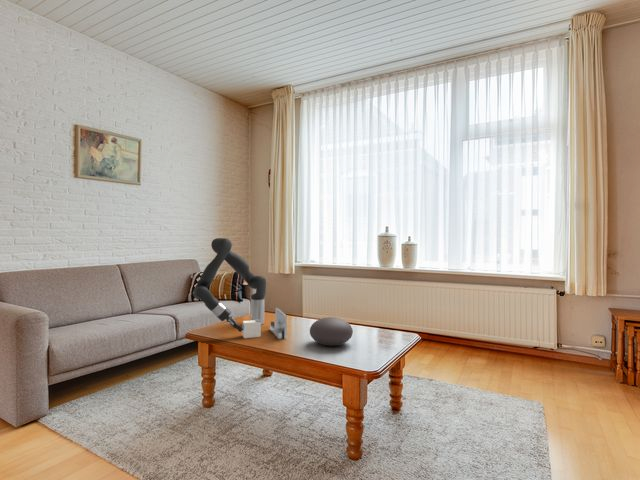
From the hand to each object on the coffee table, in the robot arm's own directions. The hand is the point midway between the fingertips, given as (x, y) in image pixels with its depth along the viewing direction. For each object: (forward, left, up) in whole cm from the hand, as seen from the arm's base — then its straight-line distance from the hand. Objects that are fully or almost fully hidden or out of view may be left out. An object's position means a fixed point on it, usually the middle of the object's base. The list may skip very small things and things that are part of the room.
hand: (241, 330), depth 217 cm
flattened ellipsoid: (+30, +46, -4) cm, 55 cm away
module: (0, +6, -4) cm, 7 cm away
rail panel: (0, +22, -4) cm, 23 cm away
